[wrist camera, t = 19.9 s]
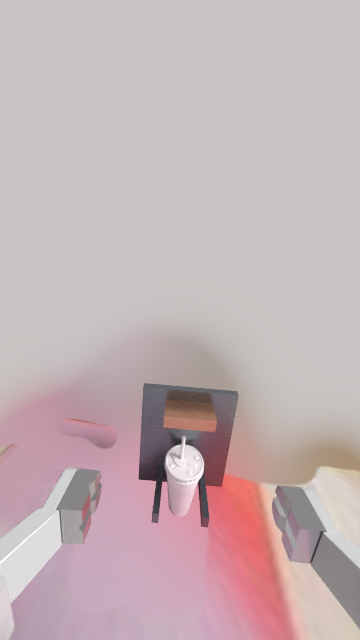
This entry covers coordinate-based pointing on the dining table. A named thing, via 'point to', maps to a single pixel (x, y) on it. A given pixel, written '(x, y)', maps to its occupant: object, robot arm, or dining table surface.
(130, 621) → the dining table surface
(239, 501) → the dining table surface
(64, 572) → the dining table surface
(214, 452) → the gray menu stand
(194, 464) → the smoothie
